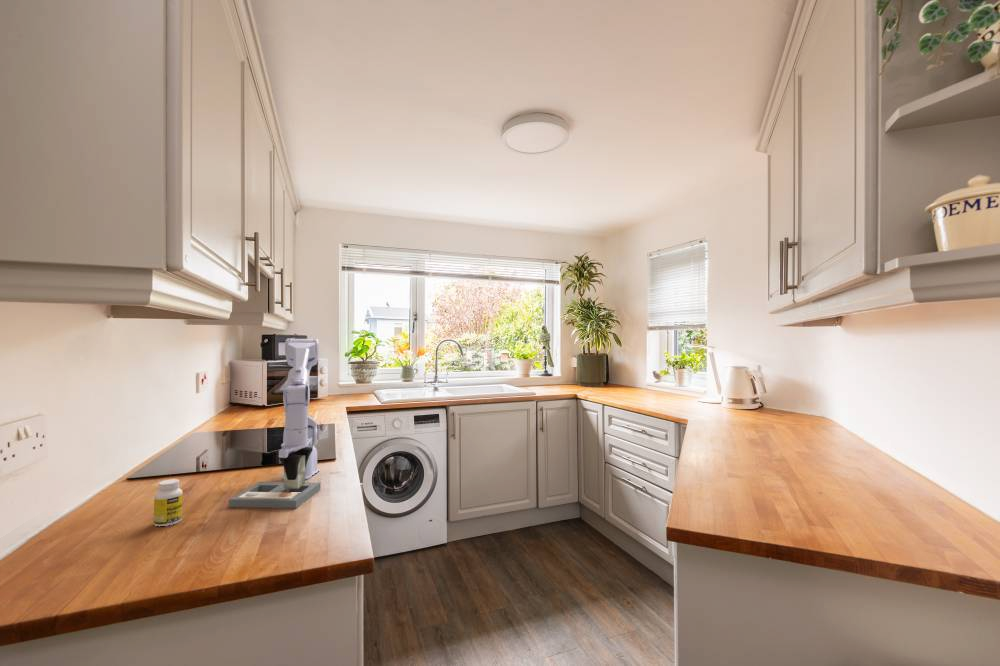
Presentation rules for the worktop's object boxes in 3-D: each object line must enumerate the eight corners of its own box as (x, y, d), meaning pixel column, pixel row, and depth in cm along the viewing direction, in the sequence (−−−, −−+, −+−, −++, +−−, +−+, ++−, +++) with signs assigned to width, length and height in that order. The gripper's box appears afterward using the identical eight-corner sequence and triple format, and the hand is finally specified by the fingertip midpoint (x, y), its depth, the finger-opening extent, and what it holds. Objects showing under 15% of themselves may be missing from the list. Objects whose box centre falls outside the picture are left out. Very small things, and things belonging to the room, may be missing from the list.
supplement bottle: (166, 528, 101) (167, 486, 101) (147, 526, 102) (148, 484, 102) (187, 519, 106) (188, 478, 106) (169, 517, 107) (170, 477, 107)
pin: (291, 483, 124) (291, 455, 124) (304, 483, 124) (305, 455, 124) (283, 488, 120) (283, 459, 120) (297, 488, 120) (298, 459, 120)
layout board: (260, 488, 128) (260, 479, 128) (320, 489, 127) (320, 481, 127) (228, 507, 114) (228, 497, 114) (296, 508, 113) (296, 498, 113)
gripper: (295, 422, 129) (295, 468, 129) (267, 433, 115) (267, 485, 115) (318, 423, 129) (318, 469, 129) (293, 433, 115) (293, 485, 114)
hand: (295, 476), depth 122 cm, fingers closed on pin, 4 cm apart
